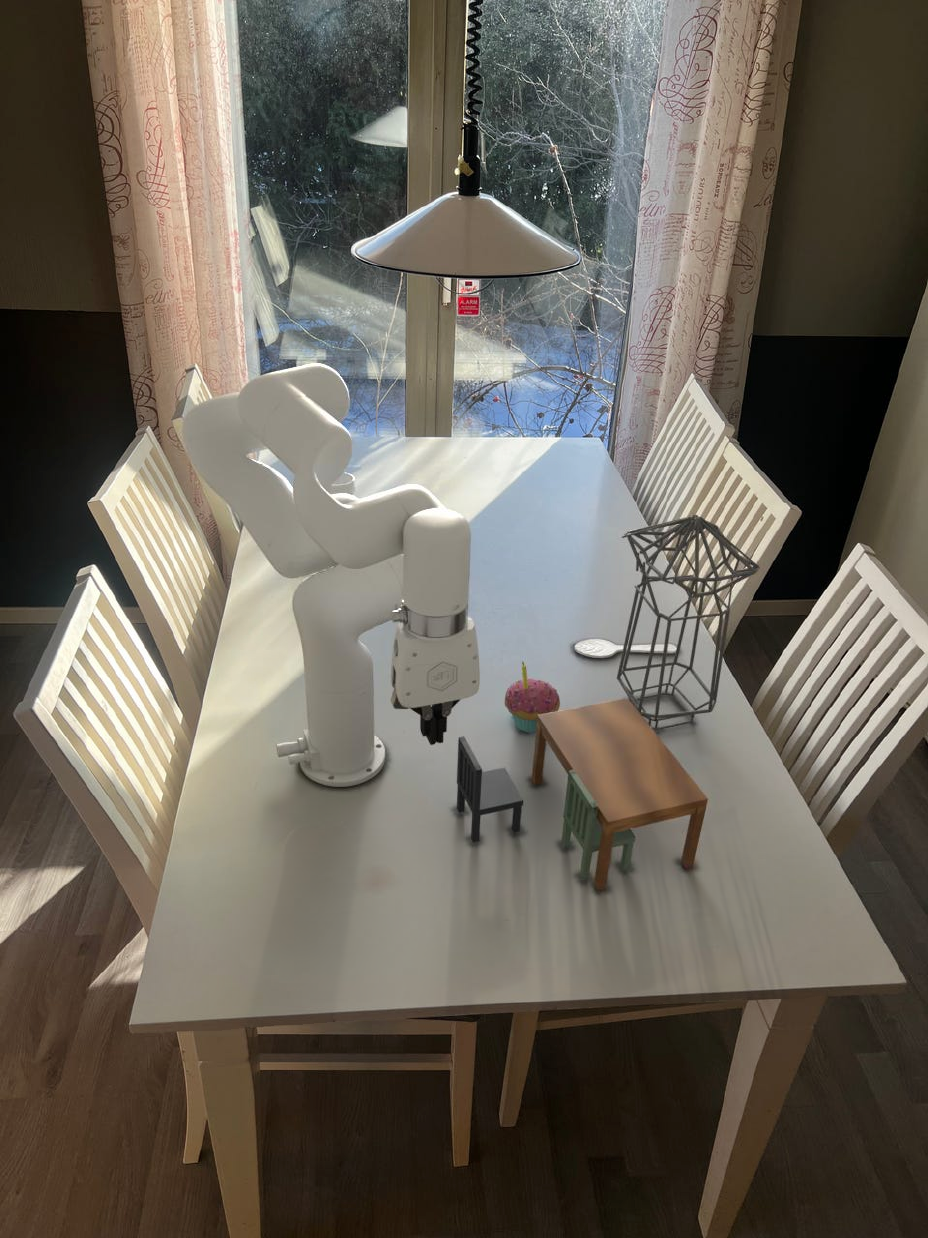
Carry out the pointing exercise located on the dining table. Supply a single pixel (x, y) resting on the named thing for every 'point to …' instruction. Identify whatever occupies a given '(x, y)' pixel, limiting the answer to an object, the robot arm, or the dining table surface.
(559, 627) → the dining table surface
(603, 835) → the oak table
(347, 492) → the drinking glass
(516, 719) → the cupcake
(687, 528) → the geometric lantern
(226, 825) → the dining table surface
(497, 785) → the charcoal chair
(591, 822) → the sage chair
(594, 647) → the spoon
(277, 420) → the robot arm
